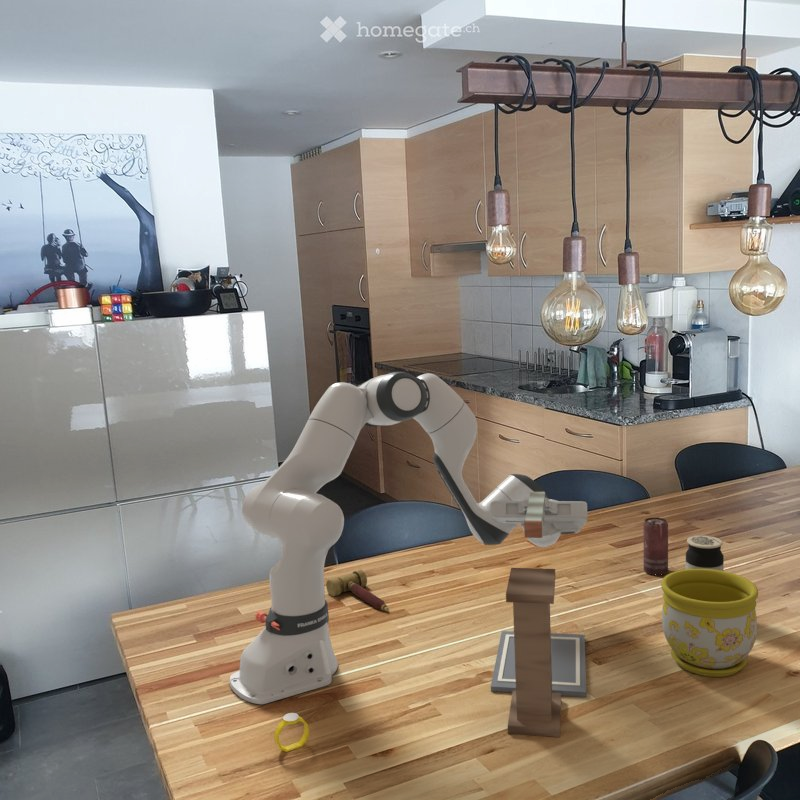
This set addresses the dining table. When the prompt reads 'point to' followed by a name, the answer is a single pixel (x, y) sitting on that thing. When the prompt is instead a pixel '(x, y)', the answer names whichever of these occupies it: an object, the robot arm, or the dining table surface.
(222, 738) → the dining table surface
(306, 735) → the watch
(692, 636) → the flowerpot
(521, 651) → the stand
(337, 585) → the gavel
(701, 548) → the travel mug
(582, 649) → the mat
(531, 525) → the grey green bar
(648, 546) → the can
